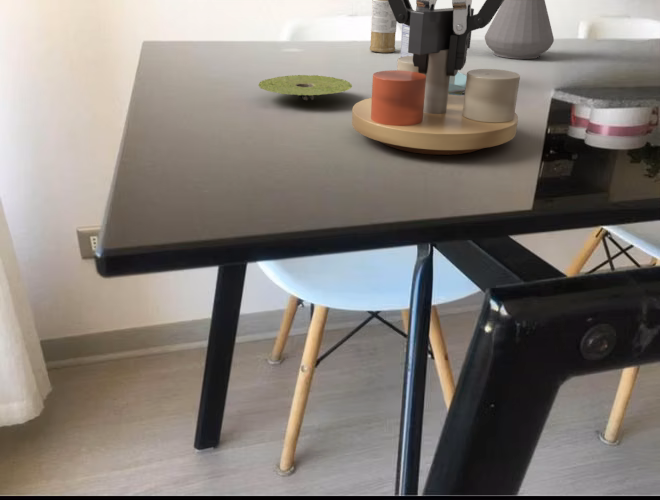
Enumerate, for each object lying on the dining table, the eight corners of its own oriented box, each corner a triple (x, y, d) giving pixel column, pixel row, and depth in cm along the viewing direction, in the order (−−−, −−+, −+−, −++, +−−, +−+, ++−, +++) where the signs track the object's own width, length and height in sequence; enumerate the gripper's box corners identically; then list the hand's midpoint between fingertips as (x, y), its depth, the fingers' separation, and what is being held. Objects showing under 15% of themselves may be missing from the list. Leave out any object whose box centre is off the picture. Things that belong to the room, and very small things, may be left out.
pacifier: (483, 94, 82) (438, 88, 83) (491, 44, 79) (444, 39, 81) (476, 106, 76) (426, 100, 77) (484, 52, 73) (433, 47, 74)
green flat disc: (361, 93, 80) (362, 78, 79) (337, 114, 70) (337, 97, 69) (278, 87, 83) (278, 72, 82) (244, 106, 73) (243, 89, 72)
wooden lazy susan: (426, 99, 72) (435, -1, 68) (549, 130, 61) (569, 13, 57) (318, 121, 63) (319, 6, 58) (440, 162, 52) (454, 24, 47)
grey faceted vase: (475, 57, 106) (487, -41, 100) (490, 48, 116) (501, -42, 109) (611, 69, 98) (633, -36, 92) (614, 58, 108) (635, -38, 101)
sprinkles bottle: (381, 48, 113) (385, -34, 107) (400, 51, 111) (406, -33, 105) (363, 50, 111) (367, -33, 105) (383, 54, 108) (387, -32, 102)
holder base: (501, 133, 65) (502, 123, 64) (467, 162, 56) (468, 151, 56) (402, 118, 69) (403, 109, 69) (357, 142, 61) (357, 132, 60)
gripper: (546, -136, 53) (516, 72, 61) (389, -134, 58) (379, 61, 65) (541, -146, 47) (507, 88, 55) (364, -143, 51) (356, 74, 59)
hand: (437, 72), depth 60 cm, fingers closed on wooden lazy susan, 2 cm apart
